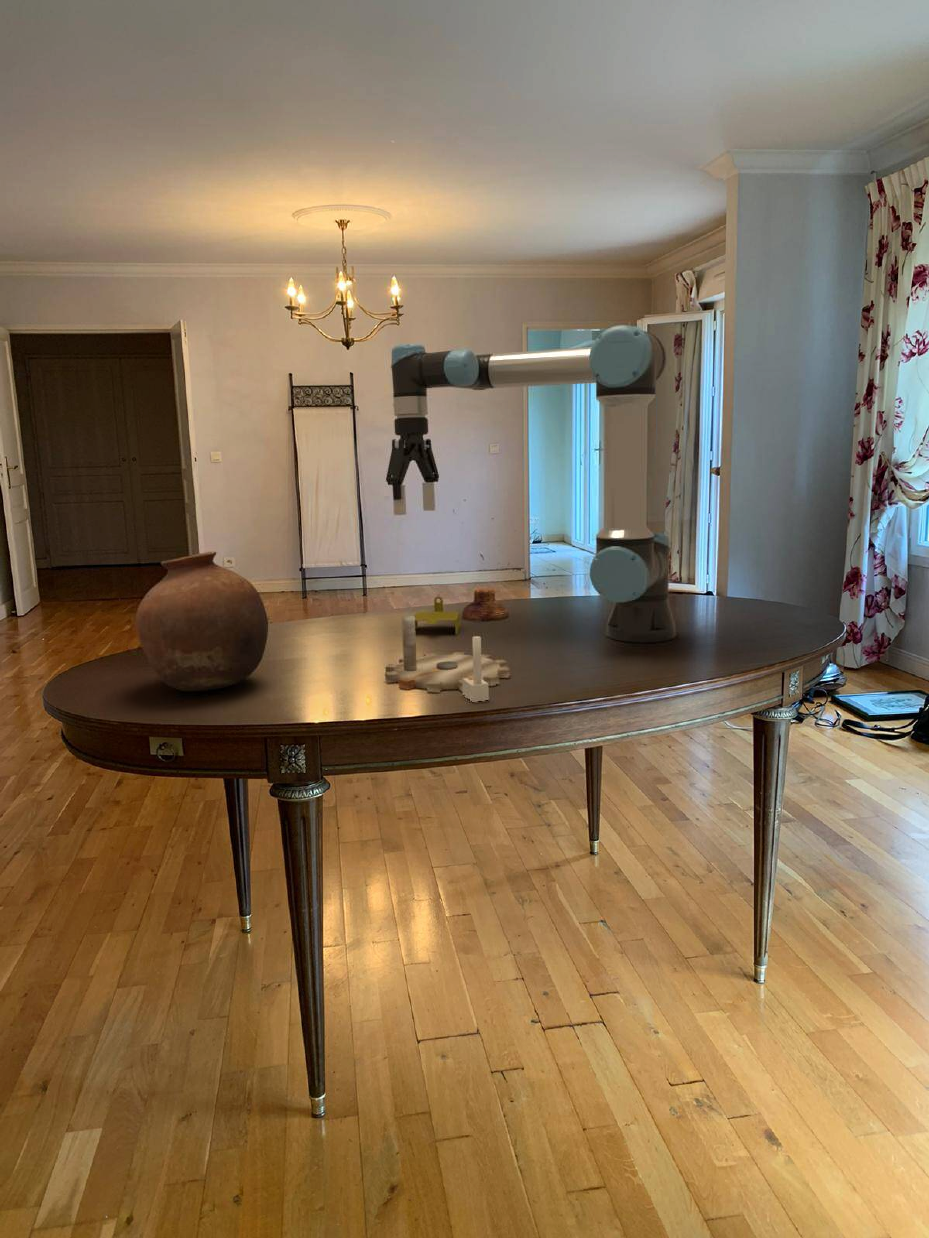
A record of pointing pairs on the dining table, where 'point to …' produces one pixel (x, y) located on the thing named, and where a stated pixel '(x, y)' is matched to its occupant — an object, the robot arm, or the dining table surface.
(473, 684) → the index post
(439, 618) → the bracket
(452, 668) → the sprocket
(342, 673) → the dining table surface
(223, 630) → the pottery
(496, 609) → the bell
